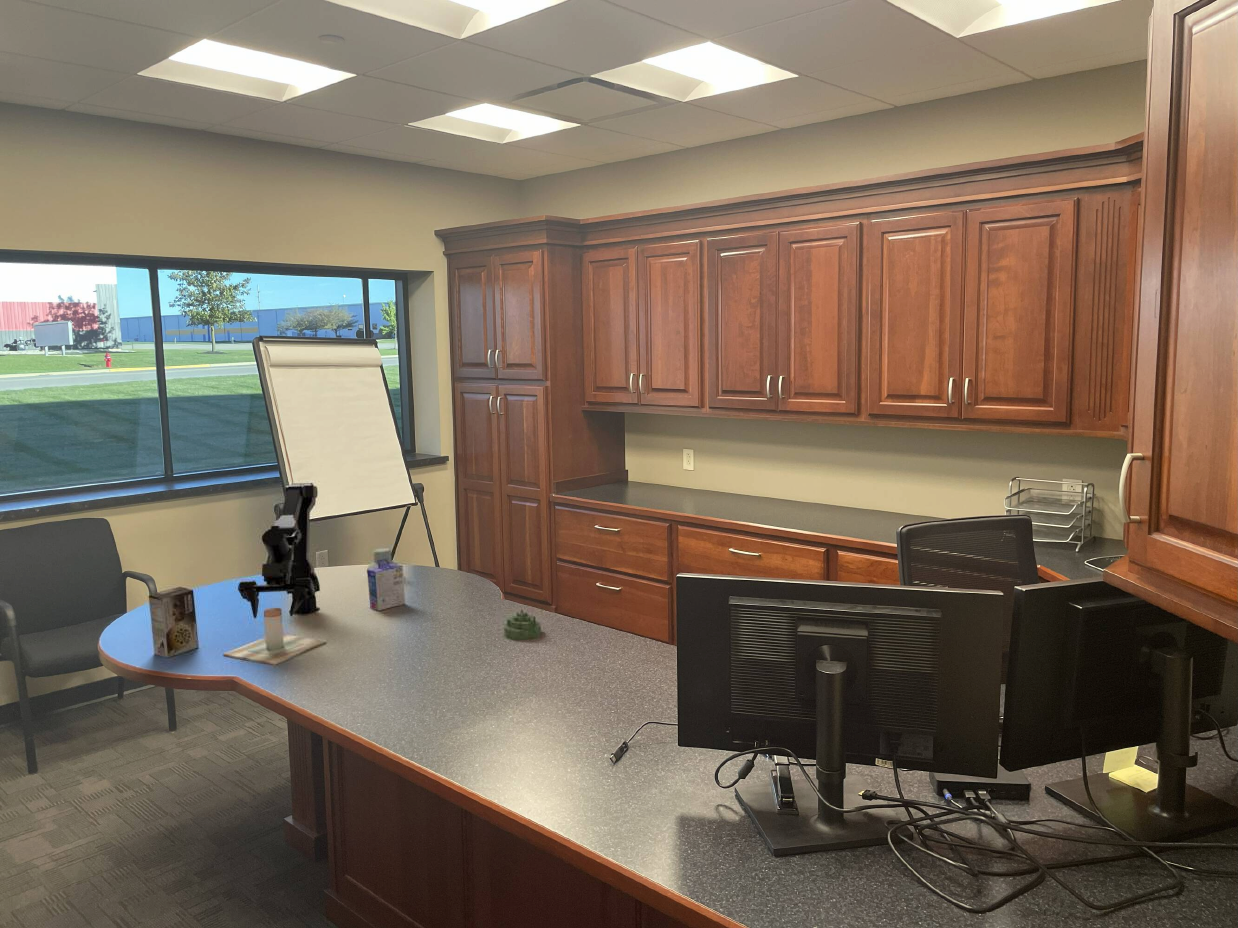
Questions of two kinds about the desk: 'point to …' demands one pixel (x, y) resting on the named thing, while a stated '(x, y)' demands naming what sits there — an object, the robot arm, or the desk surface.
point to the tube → (273, 628)
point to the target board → (261, 654)
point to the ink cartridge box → (386, 585)
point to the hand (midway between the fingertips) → (272, 616)
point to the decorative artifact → (522, 627)
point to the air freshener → (381, 557)
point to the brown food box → (173, 621)
